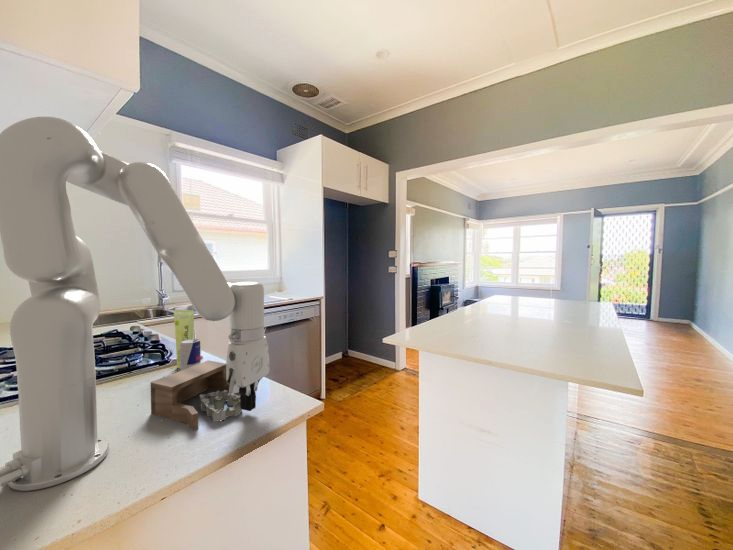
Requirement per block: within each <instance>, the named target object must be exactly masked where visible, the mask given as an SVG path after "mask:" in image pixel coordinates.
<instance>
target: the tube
mask: <svg viewBox="0 0 733 550" xmlns="http://www.w3.org/2000/svg"><path fill="white" fill-rule="evenodd" d="M172 311H173V318H174V319H173V320H174V331H175V332H174V334H175V350H176V367H177V369H180V343H181V341H182V340H186V339H195V338H194V336H195V335H194V334H195V333H194V332H195V331H194V328H195V327H194V325H195V323H194V322H195V309H193V310H192V309H188V310H187V309H173V310H172Z"/></svg>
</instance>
